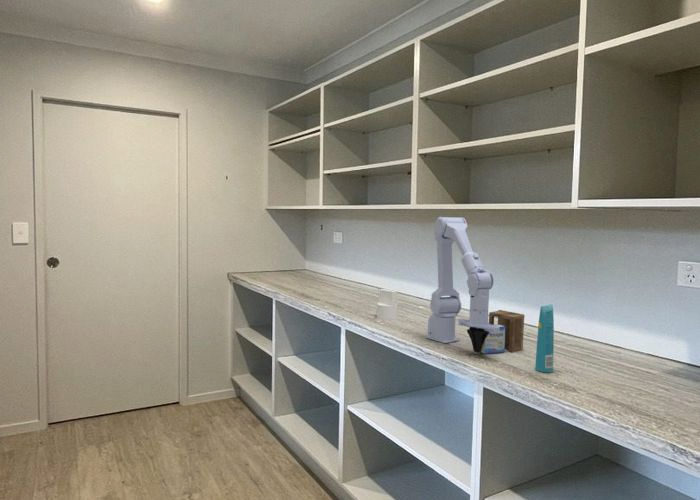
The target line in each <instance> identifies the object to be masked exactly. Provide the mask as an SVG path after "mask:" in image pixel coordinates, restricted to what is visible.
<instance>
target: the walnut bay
mask: <svg viewBox="0 0 700 500" xmlns="http://www.w3.org/2000/svg"><path fill="white" fill-rule="evenodd" d="M495 317H496V318H497V325H502V326H504V327H505V347H506V348H508V352H509V353H515V352H519V351H522V350H524V331H525V330H524V329H525V314H524V313H518V312H513V311H507V310H503V309H498V310H495V311H490V312H489V311H488V323H489V324H492V325H495Z"/></svg>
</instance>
